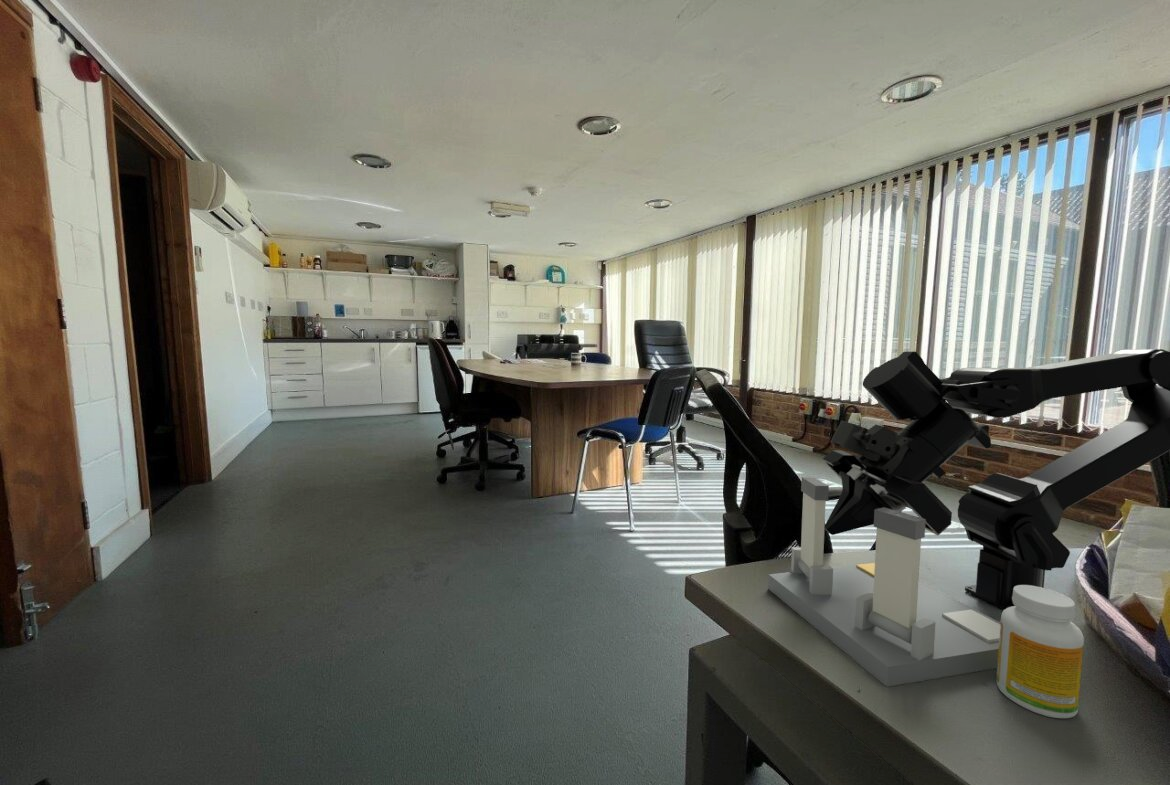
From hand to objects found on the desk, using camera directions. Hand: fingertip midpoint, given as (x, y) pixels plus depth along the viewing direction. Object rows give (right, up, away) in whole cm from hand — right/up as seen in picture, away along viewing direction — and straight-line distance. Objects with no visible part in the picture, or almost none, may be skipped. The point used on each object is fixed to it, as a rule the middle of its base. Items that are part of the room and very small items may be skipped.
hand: (827, 531), depth 60 cm
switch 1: (-2, -5, +1) cm, 6 cm away
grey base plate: (+4, -9, -4) cm, 11 cm away
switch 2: (+1, -6, -12) cm, 13 cm away
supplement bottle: (+10, -10, -17) cm, 22 cm away
